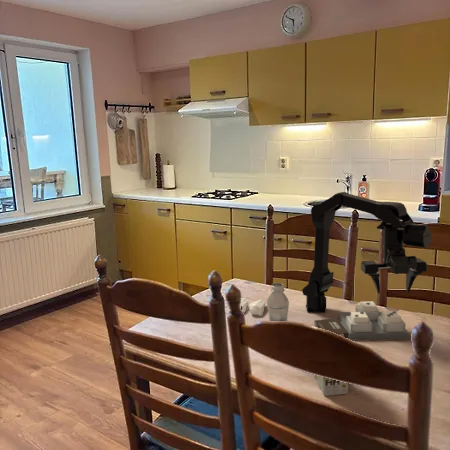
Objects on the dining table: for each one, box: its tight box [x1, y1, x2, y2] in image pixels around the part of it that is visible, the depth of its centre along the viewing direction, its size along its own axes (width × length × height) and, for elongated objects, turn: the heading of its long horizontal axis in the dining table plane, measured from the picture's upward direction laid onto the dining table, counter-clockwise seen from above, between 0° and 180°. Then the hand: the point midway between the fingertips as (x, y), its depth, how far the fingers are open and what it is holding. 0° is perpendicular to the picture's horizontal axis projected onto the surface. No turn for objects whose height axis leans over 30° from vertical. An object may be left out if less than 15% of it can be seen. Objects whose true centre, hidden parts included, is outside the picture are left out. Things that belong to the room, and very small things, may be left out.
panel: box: [338, 304, 410, 340], centre depth 142 cm, size 18×17×4 cm
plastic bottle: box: [266, 282, 290, 322], centre depth 129 cm, size 6×7×20 cm
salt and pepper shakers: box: [241, 297, 266, 317], centre depth 161 cm, size 12×4×11 cm
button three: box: [381, 311, 402, 323], centre depth 137 cm, size 4×4×3 cm
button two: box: [350, 311, 368, 323], centre depth 138 cm, size 4×4×3 cm
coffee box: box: [313, 318, 349, 397], centre depth 109 cm, size 9×6×16 cm
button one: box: [359, 300, 378, 312], centre depth 146 cm, size 4×4×3 cm
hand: (393, 292), depth 136 cm, fingers open, 9 cm apart
